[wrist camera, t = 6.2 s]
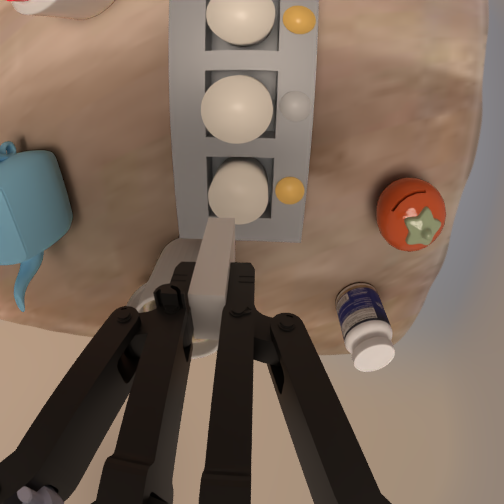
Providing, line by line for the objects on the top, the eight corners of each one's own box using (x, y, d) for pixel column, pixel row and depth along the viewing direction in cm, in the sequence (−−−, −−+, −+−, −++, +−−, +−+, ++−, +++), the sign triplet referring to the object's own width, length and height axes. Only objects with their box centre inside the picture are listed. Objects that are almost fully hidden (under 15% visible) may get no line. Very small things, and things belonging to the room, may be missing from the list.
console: (190, 213, 32) (179, 239, 28) (185, -17, 19) (170, -33, 15) (296, 217, 32) (301, 243, 28) (309, -17, 19) (319, -34, 15)
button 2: (214, 47, 21) (205, 43, 17) (215, -3, 18) (206, -15, 15) (272, 47, 20) (274, 43, 17) (274, -3, 18) (276, -15, 15)
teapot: (33, 261, 37) (-8, 313, 27) (-7, 145, 27) (-69, 181, 18) (98, 257, 36) (56, 321, 26) (57, 119, 26) (-15, 152, 17)
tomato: (413, 154, 27) (452, 183, 21) (435, 209, 31) (469, 247, 24) (354, 188, 30) (379, 226, 23) (382, 240, 33) (406, 284, 27)
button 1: (216, 202, 28) (209, 223, 25) (214, 154, 26) (207, 169, 22) (266, 204, 28) (266, 225, 25) (268, 155, 26) (269, 170, 22)
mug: (244, 249, 35) (237, 313, 26) (219, 307, 40) (210, 371, 31) (150, 219, 33) (116, 275, 24) (139, 282, 38) (112, 340, 29)
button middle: (211, 131, 23) (201, 143, 20) (210, 75, 20) (200, 76, 17) (270, 132, 23) (271, 144, 19) (272, 75, 20) (274, 76, 17)
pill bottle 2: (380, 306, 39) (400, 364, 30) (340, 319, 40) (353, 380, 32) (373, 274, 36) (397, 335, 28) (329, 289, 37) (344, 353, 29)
